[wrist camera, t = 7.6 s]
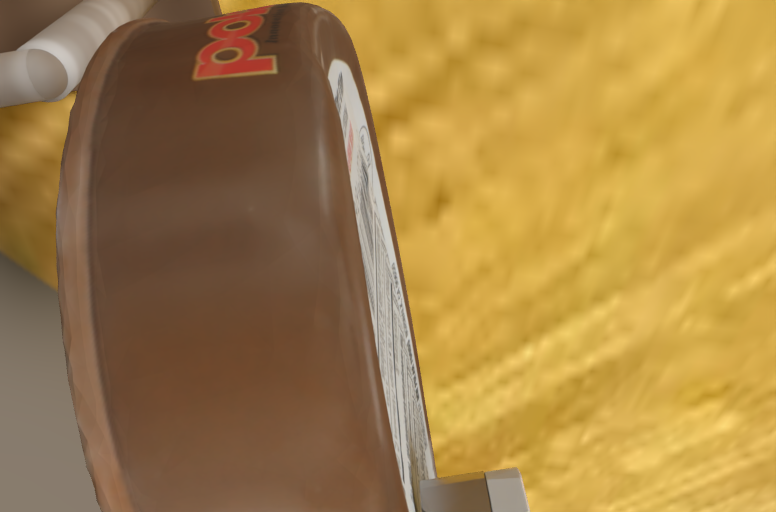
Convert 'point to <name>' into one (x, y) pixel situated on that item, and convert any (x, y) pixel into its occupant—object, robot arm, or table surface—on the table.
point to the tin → (236, 274)
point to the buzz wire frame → (69, 40)
